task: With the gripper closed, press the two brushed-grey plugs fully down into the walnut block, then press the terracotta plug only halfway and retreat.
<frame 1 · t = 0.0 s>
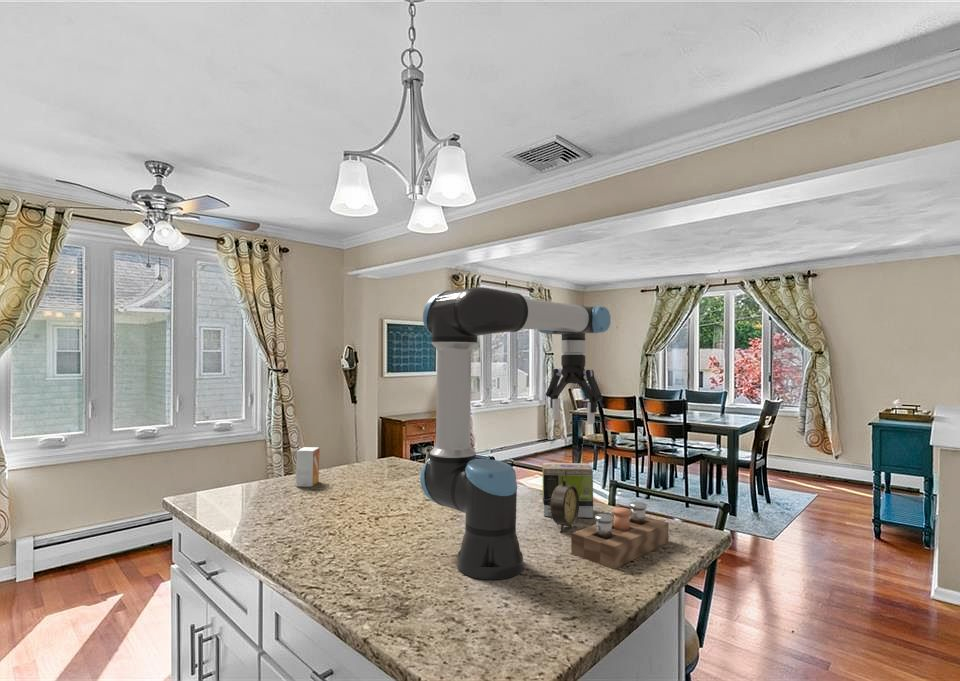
hand: (572, 421, 161), 28 cm above the counter, fingers open, 13 cm apart
terracotta plug: (621, 519, 130), point 7 cm above the counter, slide at 0.0 cm
alarm clock: (563, 528, 144), on the counter
grey plug far: (637, 513, 135), point 7 cm above the counter, slide at 0.0 cm
tea box: (566, 513, 158), on the counter
small box: (307, 484, 189), on the counter
grey plug near: (603, 526, 124), point 7 cm above the counter, slide at 0.0 cm
walnut block: (621, 547, 130), on the counter
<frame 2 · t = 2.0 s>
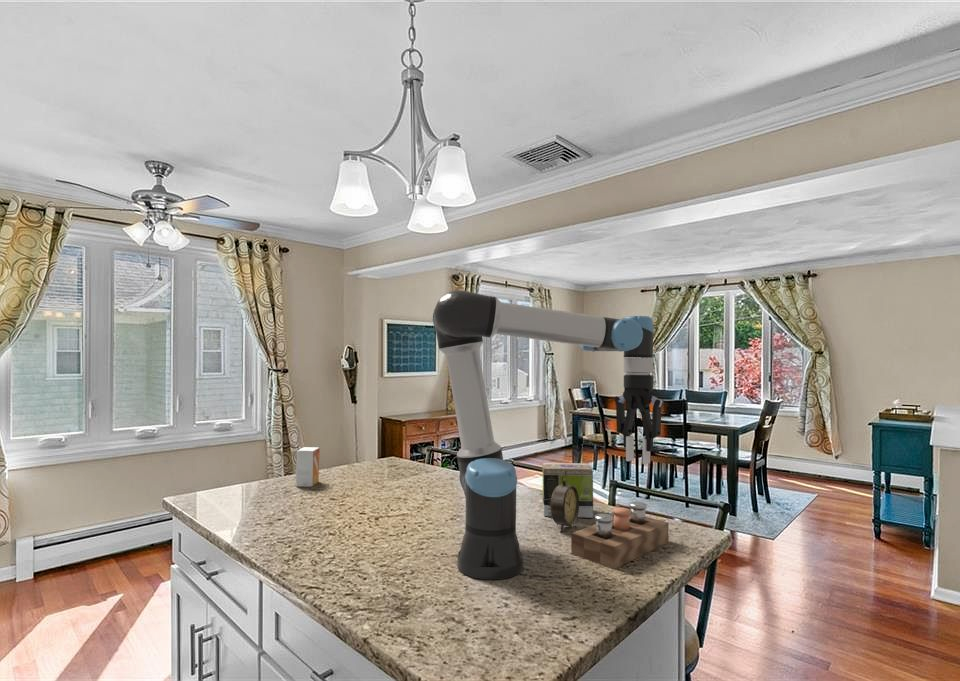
hand: (638, 461, 136), 21 cm above the counter, fingers open, 4 cm apart
nothing on the counter moved.
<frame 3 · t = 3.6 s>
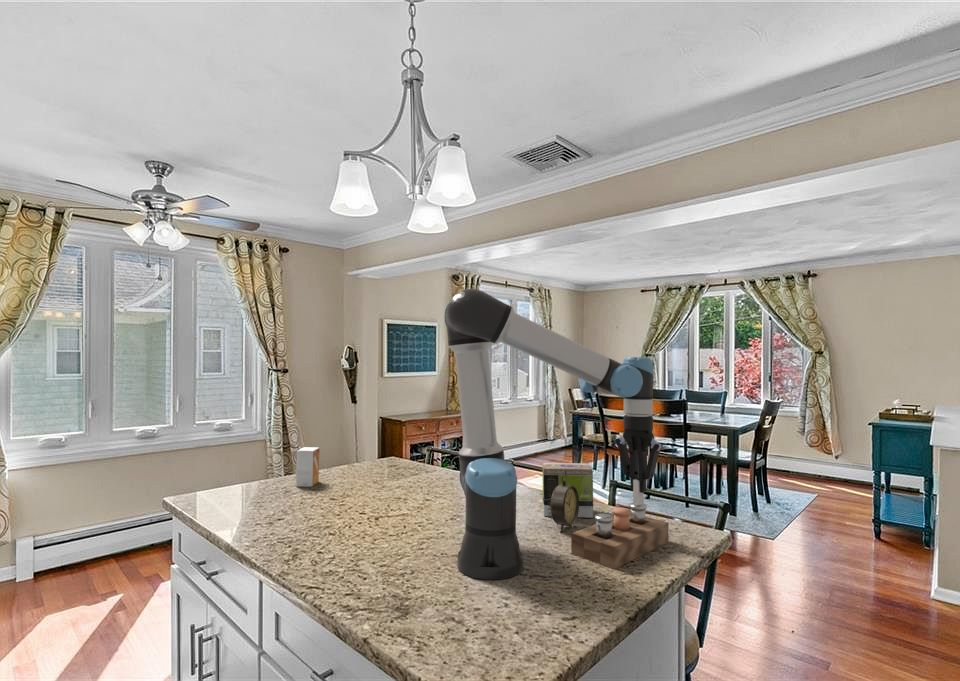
hand: (638, 503, 135), 10 cm above the counter, fingers closed
grey plug far: (637, 514, 135), point 7 cm above the counter, slide at 0.2 cm, touching gripper
everything else where it was.
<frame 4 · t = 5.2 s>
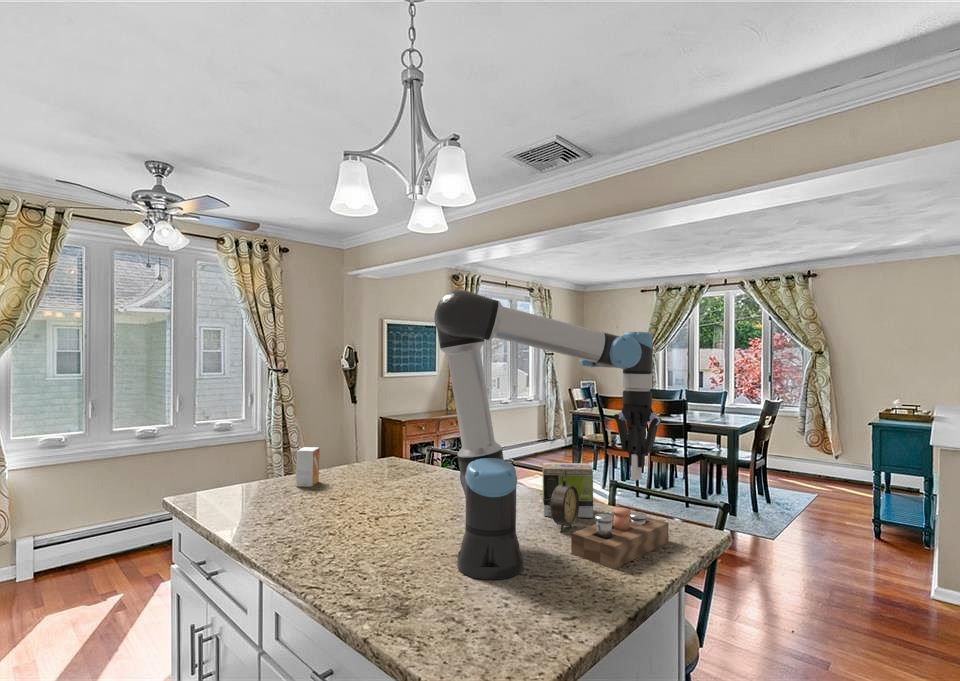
hand: (636, 478, 135), 16 cm above the counter, fingers closed
grey plug far: (637, 524, 135), point 4 cm above the counter, slide at 2.8 cm
everything else where it was.
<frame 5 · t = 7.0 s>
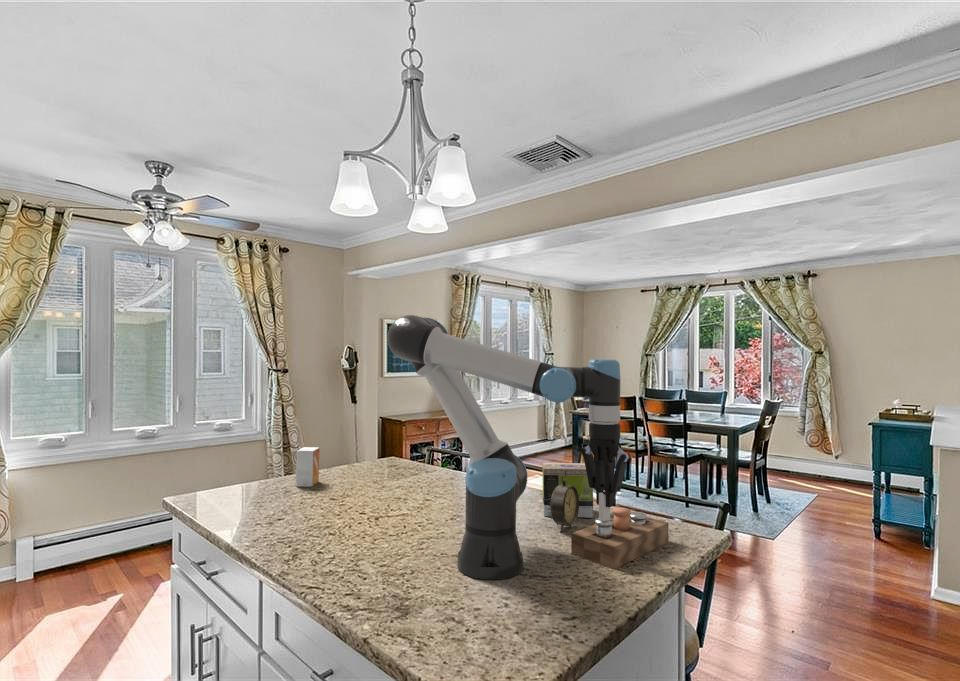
hand: (604, 519, 124), 9 cm above the counter, fingers closed
grey plug near: (603, 530, 124), point 6 cm above the counter, slide at 1.0 cm, touching gripper
everything else where it was.
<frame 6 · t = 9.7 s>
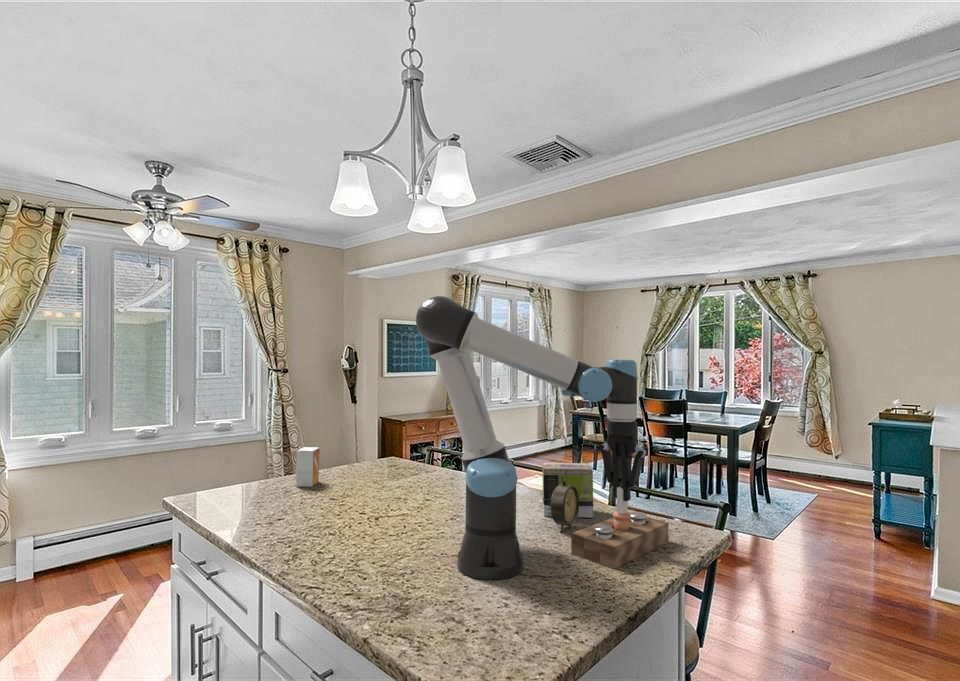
hand: (622, 512, 130), 9 cm above the counter, fingers closed
terracotta plug: (621, 523, 130), point 6 cm above the counter, slide at 1.0 cm, touching gripper
grey plug near: (603, 538, 124), point 4 cm above the counter, slide at 2.8 cm
everything else where it was.
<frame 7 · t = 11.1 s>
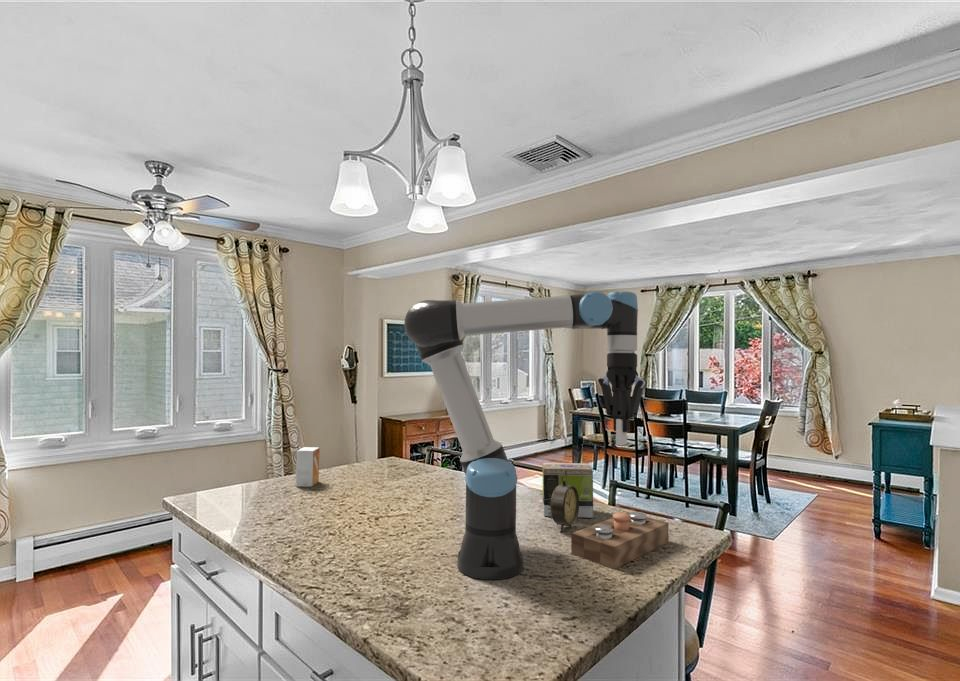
hand: (621, 444, 130), 26 cm above the counter, fingers closed
terracotta plug: (621, 525, 130), point 6 cm above the counter, slide at 1.4 cm
everything else where it was.
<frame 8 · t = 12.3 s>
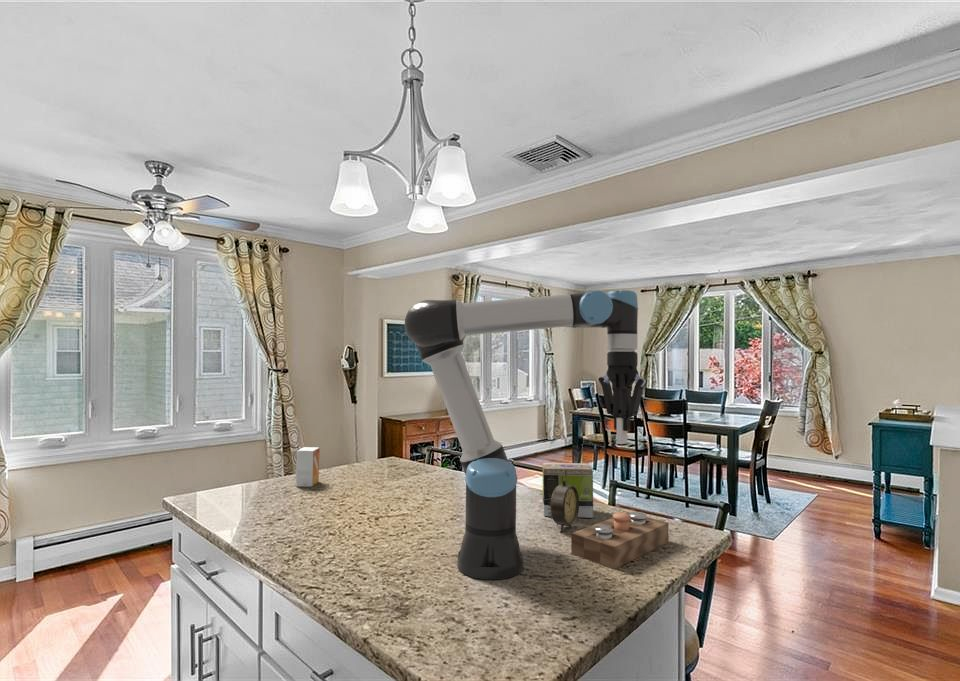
hand: (621, 443, 130), 26 cm above the counter, fingers closed
nothing on the counter moved.
at the end: grey plug far slide at 2.8 cm; grey plug near slide at 2.8 cm; terracotta plug slide at 1.4 cm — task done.
